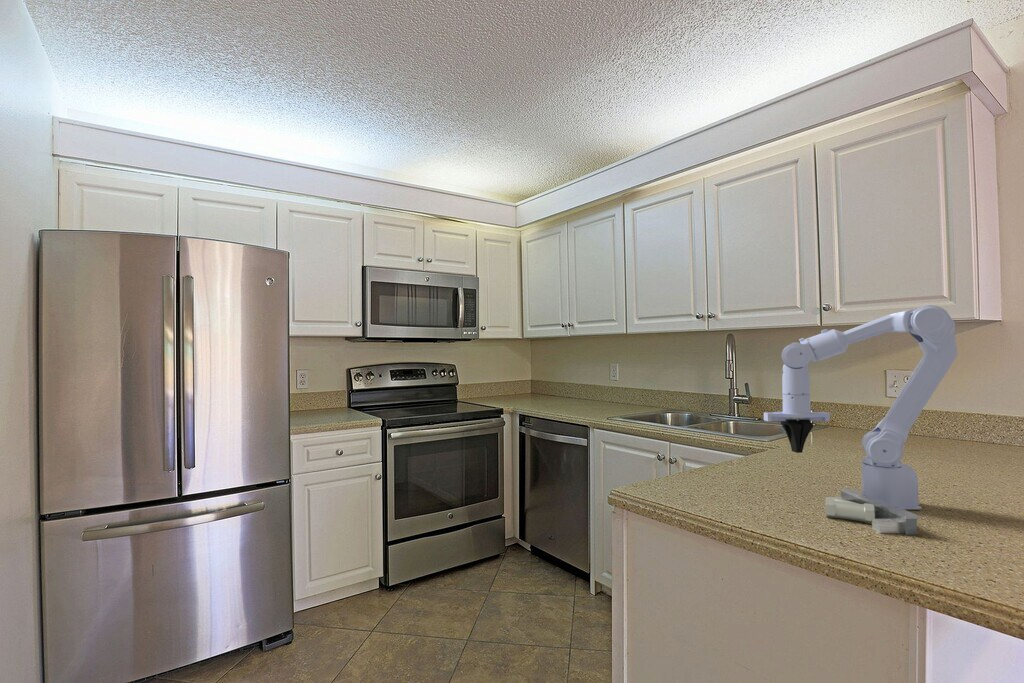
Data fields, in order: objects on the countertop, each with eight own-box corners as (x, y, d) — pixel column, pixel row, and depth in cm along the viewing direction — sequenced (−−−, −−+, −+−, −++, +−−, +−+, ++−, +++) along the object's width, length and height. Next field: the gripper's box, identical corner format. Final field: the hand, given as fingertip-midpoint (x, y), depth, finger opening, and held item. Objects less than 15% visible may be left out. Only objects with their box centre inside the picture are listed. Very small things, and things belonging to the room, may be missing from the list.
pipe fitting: (826, 512, 106) (825, 519, 100) (825, 493, 106) (825, 499, 100) (872, 519, 101) (874, 526, 96) (872, 499, 101) (874, 505, 96)
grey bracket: (853, 504, 109) (852, 488, 109) (920, 535, 91) (919, 515, 91) (822, 504, 109) (822, 488, 109) (884, 535, 91) (883, 516, 91)
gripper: (816, 392, 121) (817, 448, 121) (757, 392, 121) (757, 448, 121) (835, 395, 114) (836, 454, 114) (772, 395, 114) (772, 454, 114)
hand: (797, 451), depth 117 cm, fingers closed
